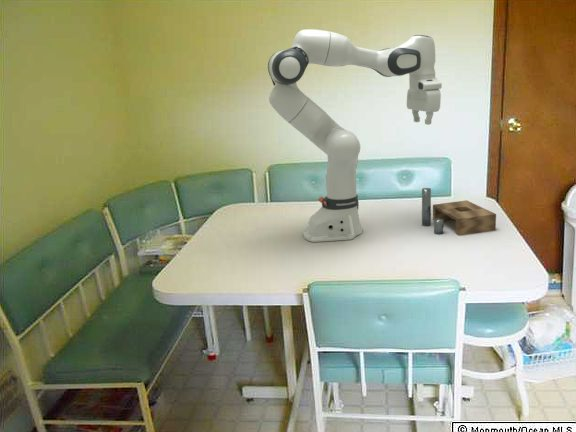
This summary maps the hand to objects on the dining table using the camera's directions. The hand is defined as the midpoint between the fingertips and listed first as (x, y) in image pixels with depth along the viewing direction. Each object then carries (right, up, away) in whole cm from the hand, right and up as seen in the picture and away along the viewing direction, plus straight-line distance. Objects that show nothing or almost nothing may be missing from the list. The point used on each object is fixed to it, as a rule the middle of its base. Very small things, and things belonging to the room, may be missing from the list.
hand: (422, 123), depth 175 cm
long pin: (+4, -37, +8) cm, 38 cm away
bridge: (+16, -37, +5) cm, 41 cm away
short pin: (+5, -40, -1) cm, 40 cm away
